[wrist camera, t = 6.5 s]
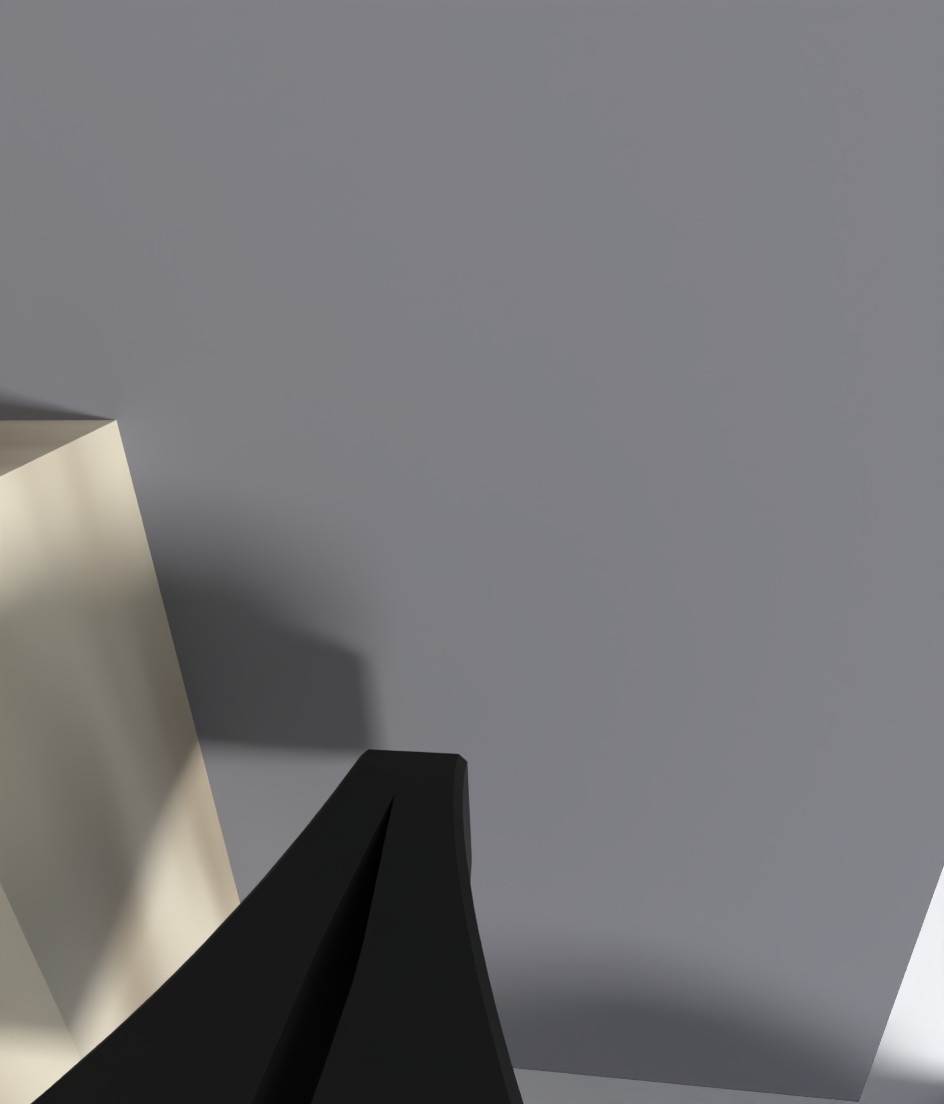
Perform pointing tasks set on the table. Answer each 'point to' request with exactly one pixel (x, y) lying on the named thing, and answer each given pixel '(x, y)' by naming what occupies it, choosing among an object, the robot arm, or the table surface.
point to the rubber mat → (535, 462)
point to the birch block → (90, 760)
